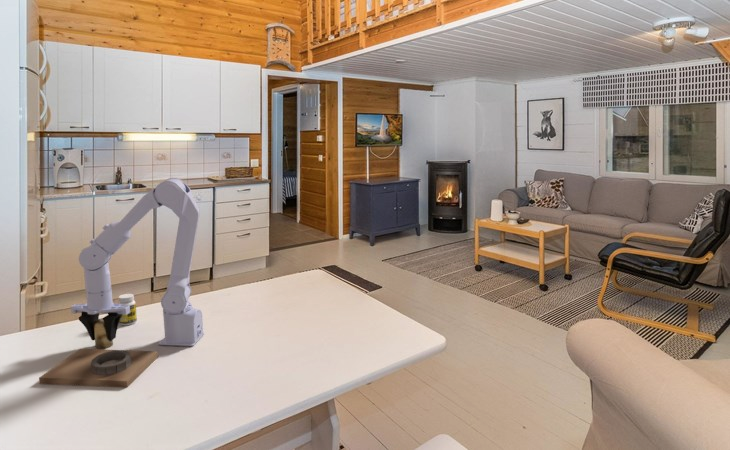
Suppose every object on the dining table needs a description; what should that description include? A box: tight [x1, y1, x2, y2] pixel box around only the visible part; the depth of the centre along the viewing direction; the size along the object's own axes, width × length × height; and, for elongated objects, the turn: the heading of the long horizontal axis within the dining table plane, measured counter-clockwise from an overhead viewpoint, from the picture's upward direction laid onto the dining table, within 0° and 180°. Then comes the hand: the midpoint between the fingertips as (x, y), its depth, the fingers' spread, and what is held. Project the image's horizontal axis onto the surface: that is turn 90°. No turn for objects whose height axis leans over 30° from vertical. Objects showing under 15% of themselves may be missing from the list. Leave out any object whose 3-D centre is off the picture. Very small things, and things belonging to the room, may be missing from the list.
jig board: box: [38, 348, 159, 388], centre depth 106 cm, size 20×14×4 cm
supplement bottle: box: [117, 293, 138, 326], centre depth 132 cm, size 5×5×8 cm
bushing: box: [93, 317, 114, 350], centre depth 118 cm, size 4×4×7 cm
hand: (103, 338), depth 118 cm, fingers closed on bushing, 4 cm apart
